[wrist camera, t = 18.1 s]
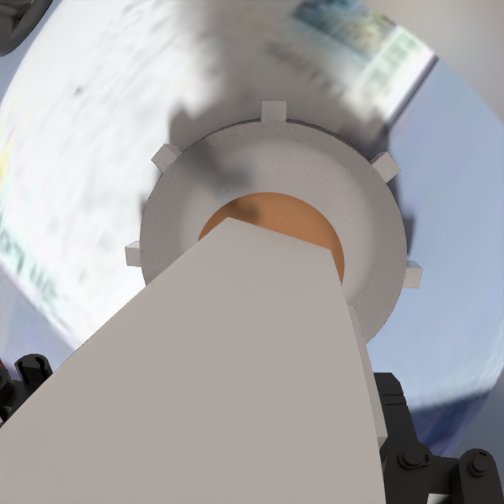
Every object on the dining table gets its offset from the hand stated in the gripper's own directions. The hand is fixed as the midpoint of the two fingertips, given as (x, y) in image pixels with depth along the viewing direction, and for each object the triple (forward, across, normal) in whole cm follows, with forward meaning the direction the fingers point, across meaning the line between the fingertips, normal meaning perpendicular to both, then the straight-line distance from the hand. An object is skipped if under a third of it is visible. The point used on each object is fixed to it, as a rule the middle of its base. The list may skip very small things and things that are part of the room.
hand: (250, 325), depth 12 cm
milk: (+5, 0, 0) cm, 5 cm away
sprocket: (+8, 0, 0) cm, 8 cm away
